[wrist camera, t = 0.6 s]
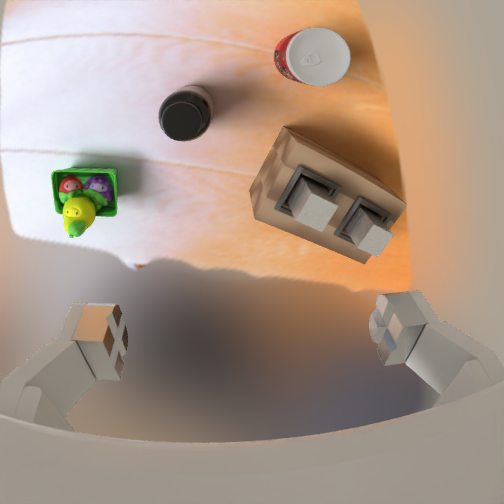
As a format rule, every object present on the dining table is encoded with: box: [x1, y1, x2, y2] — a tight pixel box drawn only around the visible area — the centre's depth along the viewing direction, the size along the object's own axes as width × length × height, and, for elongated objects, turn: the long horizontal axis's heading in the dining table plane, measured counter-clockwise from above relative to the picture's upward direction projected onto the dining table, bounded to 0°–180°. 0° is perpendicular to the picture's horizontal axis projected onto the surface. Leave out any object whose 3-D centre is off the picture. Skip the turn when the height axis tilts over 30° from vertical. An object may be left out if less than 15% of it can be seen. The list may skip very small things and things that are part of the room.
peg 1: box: [286, 174, 338, 232], centre depth 42 cm, size 4×4×9 cm
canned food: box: [274, 27, 351, 86], centre depth 36 cm, size 8×8×11 cm
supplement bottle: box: [159, 86, 214, 141], centre depth 39 cm, size 7×7×12 cm
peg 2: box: [344, 204, 394, 257], centre depth 45 cm, size 4×4×9 cm
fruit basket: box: [51, 168, 118, 238], centre depth 44 cm, size 11×9×11 cm
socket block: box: [249, 126, 407, 264], centre depth 48 cm, size 12×20×11 cm, turn 64°
